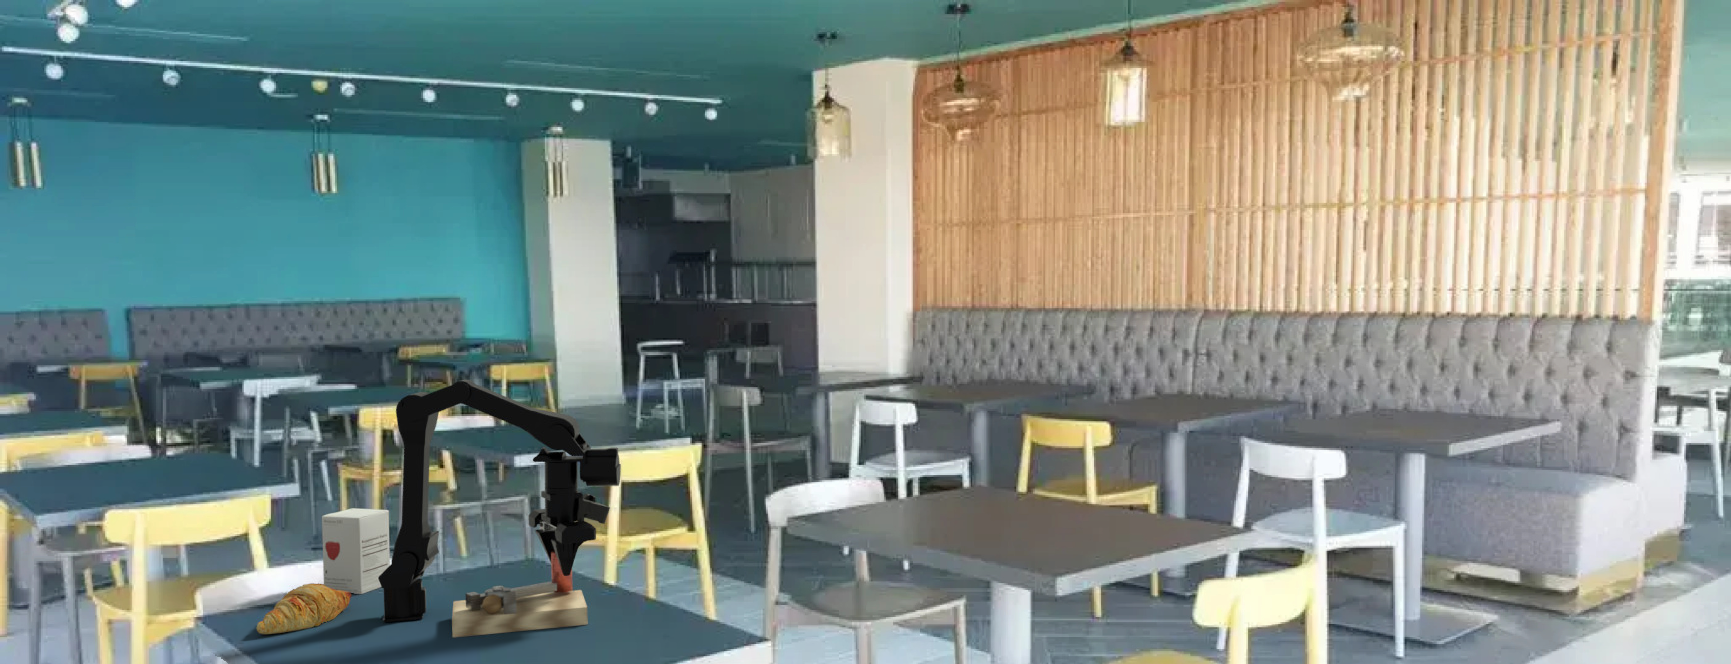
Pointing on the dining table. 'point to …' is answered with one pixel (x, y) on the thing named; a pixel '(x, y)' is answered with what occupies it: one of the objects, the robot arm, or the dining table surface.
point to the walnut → (492, 603)
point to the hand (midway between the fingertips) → (561, 572)
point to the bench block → (521, 614)
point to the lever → (526, 587)
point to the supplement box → (355, 549)
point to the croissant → (304, 609)
